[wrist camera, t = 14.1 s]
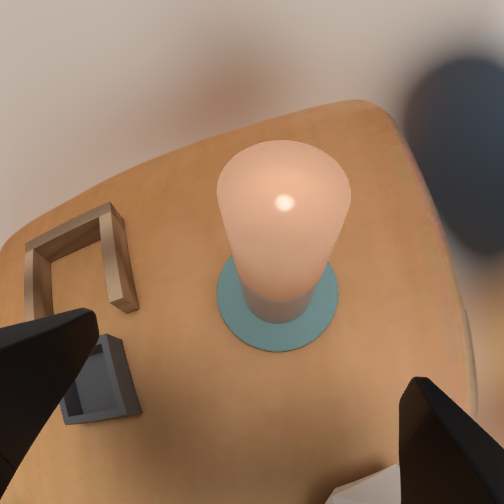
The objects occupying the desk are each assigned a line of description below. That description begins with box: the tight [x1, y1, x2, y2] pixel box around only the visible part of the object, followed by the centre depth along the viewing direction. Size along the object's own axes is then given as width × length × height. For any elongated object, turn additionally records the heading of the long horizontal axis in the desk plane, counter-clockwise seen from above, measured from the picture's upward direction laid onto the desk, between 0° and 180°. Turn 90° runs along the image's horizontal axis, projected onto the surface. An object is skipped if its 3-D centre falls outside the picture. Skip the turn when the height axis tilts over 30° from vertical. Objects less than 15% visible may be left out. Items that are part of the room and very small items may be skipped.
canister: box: [217, 140, 351, 324], centre depth 16 cm, size 5×5×12 cm
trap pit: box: [60, 334, 142, 425], centre depth 18 cm, size 6×6×2 cm
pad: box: [217, 255, 338, 352], centre depth 22 cm, size 9×9×1 cm
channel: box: [24, 202, 139, 322], centre depth 22 cm, size 9×10×3 cm
